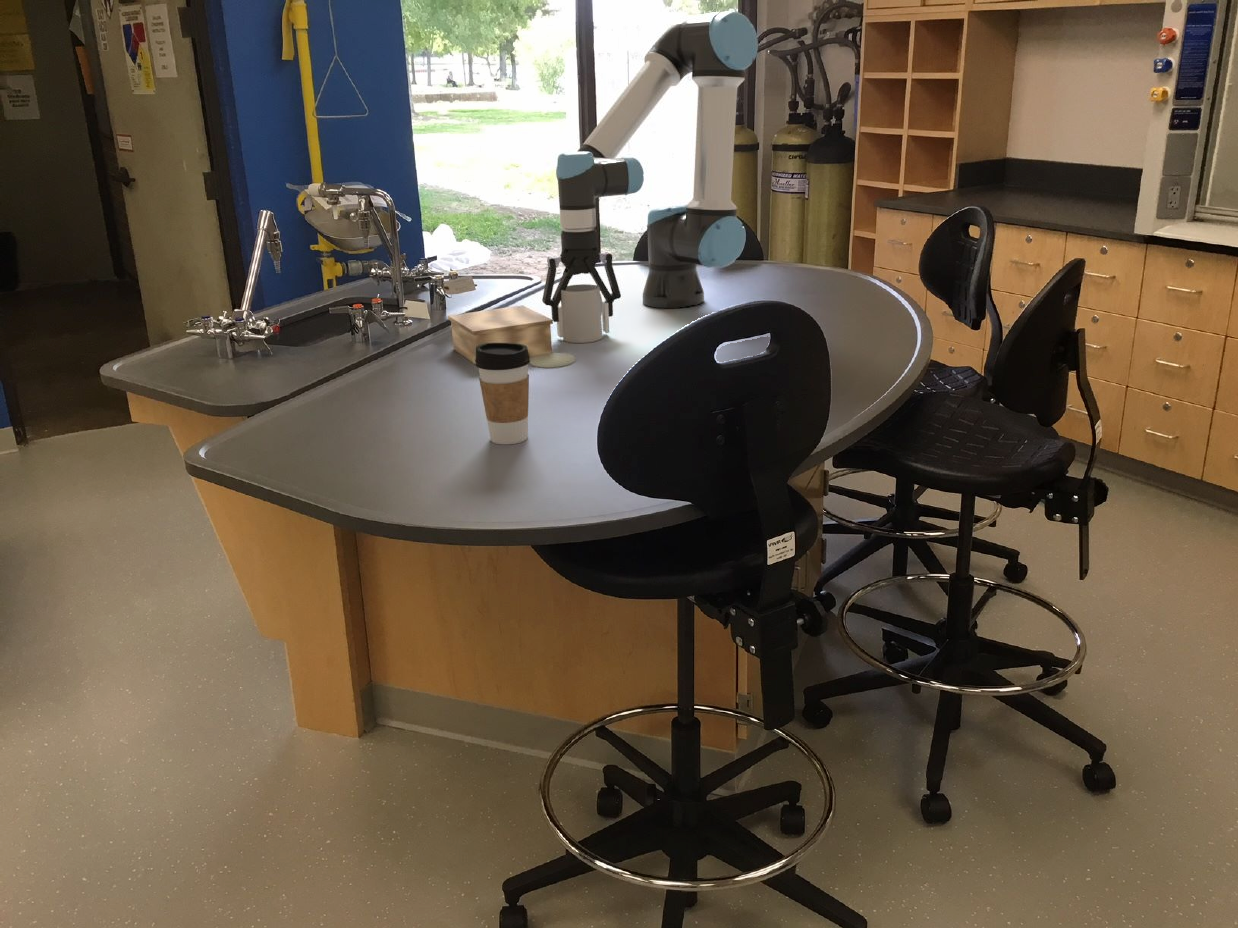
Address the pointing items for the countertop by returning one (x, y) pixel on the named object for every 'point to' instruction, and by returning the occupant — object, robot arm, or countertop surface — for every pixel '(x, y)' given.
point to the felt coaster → (552, 360)
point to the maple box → (501, 330)
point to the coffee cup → (505, 390)
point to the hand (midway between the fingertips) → (583, 333)
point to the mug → (581, 313)
